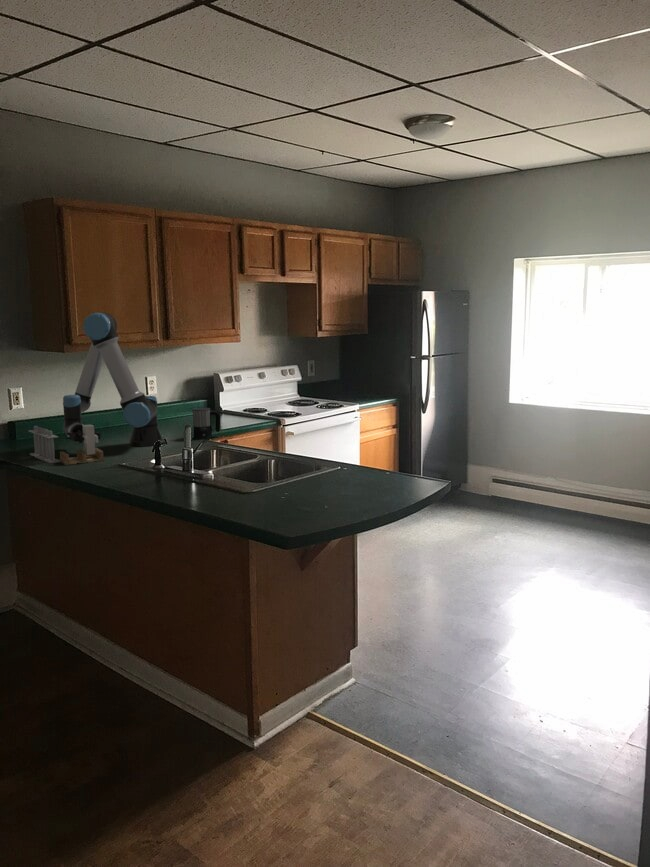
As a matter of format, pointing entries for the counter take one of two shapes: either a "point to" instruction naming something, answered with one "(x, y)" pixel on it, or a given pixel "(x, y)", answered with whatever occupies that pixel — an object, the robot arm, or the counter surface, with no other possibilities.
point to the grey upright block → (89, 439)
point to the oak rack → (81, 457)
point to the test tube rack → (44, 445)
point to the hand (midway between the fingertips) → (92, 440)
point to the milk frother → (204, 422)
